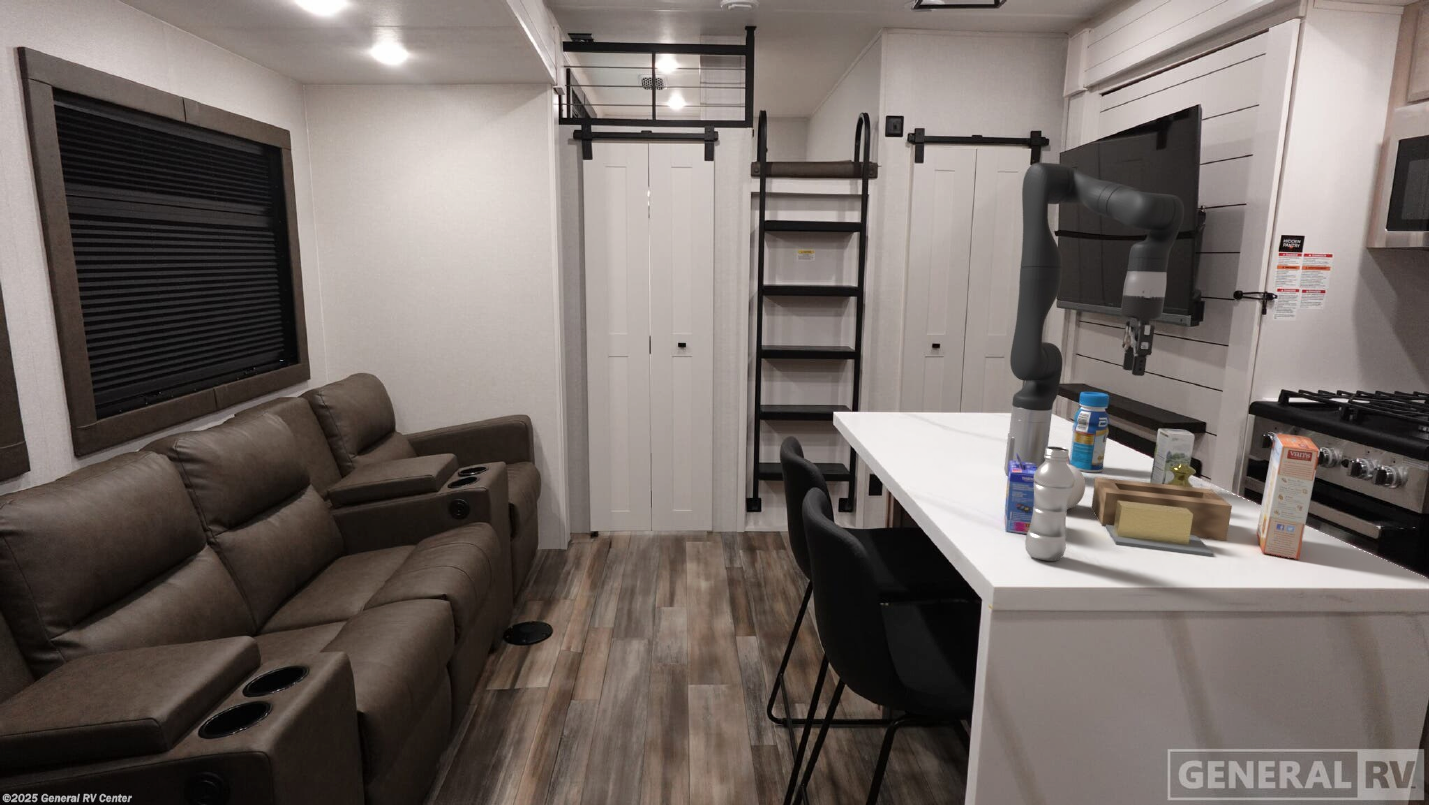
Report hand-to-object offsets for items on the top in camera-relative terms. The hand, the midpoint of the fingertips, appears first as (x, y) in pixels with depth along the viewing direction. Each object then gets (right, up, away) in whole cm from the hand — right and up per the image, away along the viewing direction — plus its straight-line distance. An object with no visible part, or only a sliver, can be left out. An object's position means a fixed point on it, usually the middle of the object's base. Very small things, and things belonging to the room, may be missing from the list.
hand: (1133, 372), depth 158 cm
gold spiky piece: (+15, -30, +9) cm, 34 cm away
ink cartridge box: (-27, -31, -7) cm, 41 cm away
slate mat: (-3, -33, -13) cm, 35 cm away
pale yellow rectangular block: (-4, -32, -12) cm, 35 cm away
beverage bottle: (+10, -24, +40) cm, 48 cm away
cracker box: (+20, -34, -13) cm, 42 cm away
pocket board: (+3, -31, -2) cm, 31 cm away
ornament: (-13, -29, +6) cm, 33 cm away
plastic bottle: (-29, -34, -23) cm, 50 cm away
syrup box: (+21, -27, +24) cm, 42 cm away
